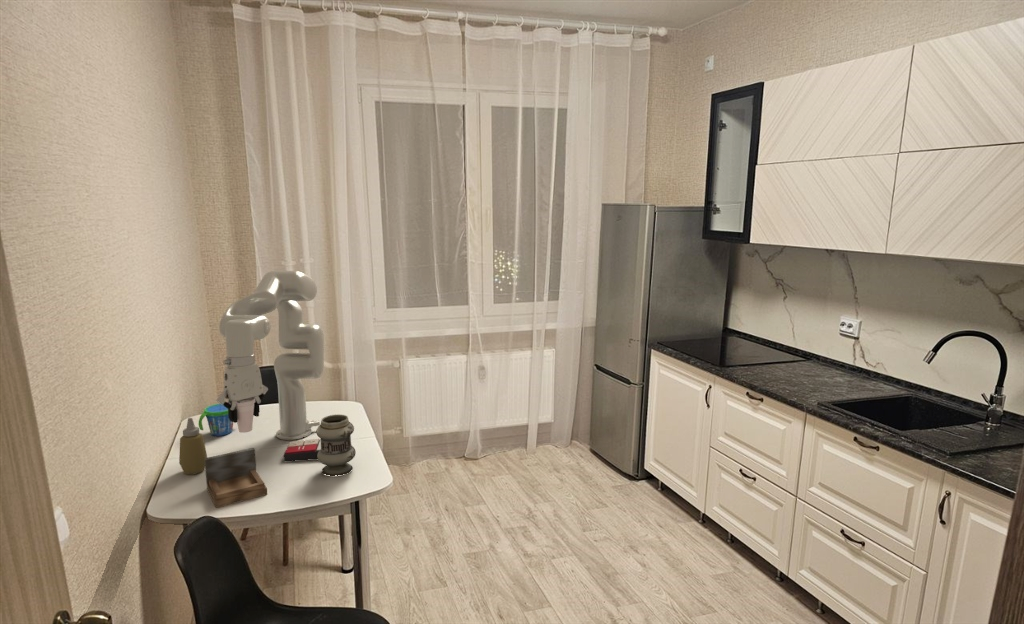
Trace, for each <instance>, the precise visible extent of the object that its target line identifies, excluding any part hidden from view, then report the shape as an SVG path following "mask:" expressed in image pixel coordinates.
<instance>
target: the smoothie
mask: <svg viewBox="0 0 1024 624" xmlns="http://www.w3.org/2000/svg"><path fill="white" fill-rule="evenodd" d="M255 402H256V401H255V398H254V397H252V398H248V399H244V400H240V401H237V403H236V406H235V409H236V410H237V422H236V423H237V428H238V432H239V433H244V434H245V433H249V432H251V431H253V426H254V425H253V423H254V415H253V414H254V403H255Z"/></svg>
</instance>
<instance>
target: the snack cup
mask: <svg viewBox="0 0 1024 624" xmlns="http://www.w3.org/2000/svg"><path fill="white" fill-rule="evenodd" d="M204 418H206V421H207V425H208V430H209V432H210V434H211V436H218V437H221V436H226V435H228V434H231V433H232V432H233V430H234V422H232V421H230V420H229V415H228V409H227V408H226V407H224V406H223V405H222V404H220V403H216V404H215V403H214V404H210V405H209V406H207V407H205V408H204V409H203V412H202V413H201V414H200V416H199V419H198V428H199V430H201V431H204V427H203V419H204Z"/></svg>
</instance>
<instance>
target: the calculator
mask: <svg viewBox="0 0 1024 624" xmlns="http://www.w3.org/2000/svg"><path fill="white" fill-rule="evenodd" d="M320 450H321V439H320V438H312V439H305V440H304V439H301V440H293V441H292V440H290V442H289V443H288V444H287V446H286V450H285V451H284V453H283V460H284V461H292V462H296V461H295V460H306V461H309V460H308V459H318V458H317V455H318V452H319V451H320ZM284 461H283V462H284Z"/></svg>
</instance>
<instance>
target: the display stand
mask: <svg viewBox="0 0 1024 624" xmlns="http://www.w3.org/2000/svg"><path fill="white" fill-rule="evenodd" d="M256 461H257V460H256V449H255V448H254V447H250V448H246V449H241V450H235V451H233V452H232V451H231V452H228V453H227V452H226V453H222V454H219V455H218V454H217V455H213V456H209V457H208V456H207V458H205V469H204V471H205V482H206V490H207V492H208V493H209V496H210V499H211V500H212V502H213V505H214V506H215V508H221V507H224V506H228V505H231V504H235V503H236V504H237V503H239V502H243V501H246V500H250V499H254V498H258V497H262V496H266V495H268V488H267V486H266V484H265V482H264V480H263V479H262V477H261V476H260V475H259V474H258V472H257V462H256Z"/></svg>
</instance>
